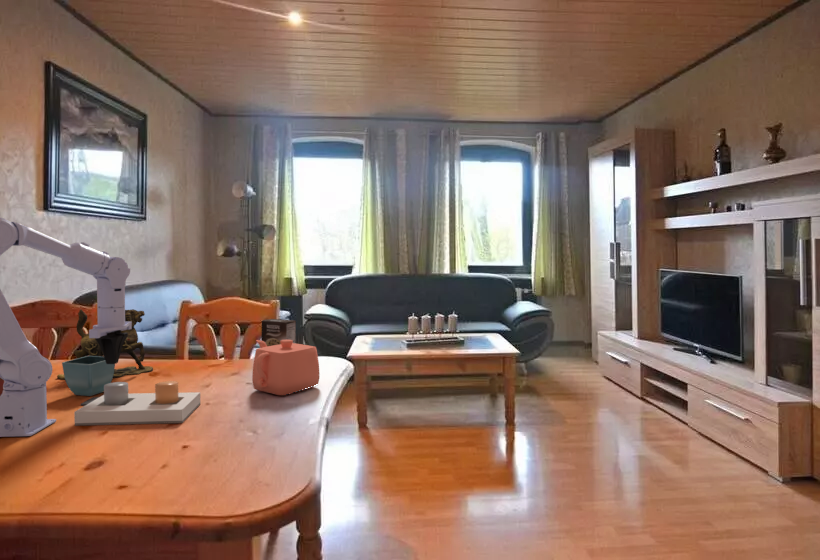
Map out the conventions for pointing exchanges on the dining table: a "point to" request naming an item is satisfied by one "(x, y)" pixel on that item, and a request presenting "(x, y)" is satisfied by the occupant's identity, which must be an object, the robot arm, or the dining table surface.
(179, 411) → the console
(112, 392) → the grey button
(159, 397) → the tan button
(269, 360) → the teapot
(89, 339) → the figurine
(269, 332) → the coffee box
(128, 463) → the dining table surface
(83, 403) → the mat
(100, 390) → the flower pot
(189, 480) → the dining table surface
